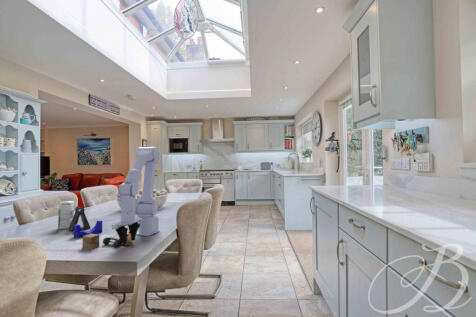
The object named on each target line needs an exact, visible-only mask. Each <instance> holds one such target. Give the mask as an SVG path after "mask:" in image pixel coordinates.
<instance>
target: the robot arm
mask: <svg viewBox="0 0 476 317" xmlns="http://www.w3.org/2000/svg"><path fill="white" fill-rule="evenodd" d="M159 156H160V153H159V149H158V147H156V146H144V147H143V146H138V147H137V148H136V150H135V157H136V159H135V161H134V162H135V163H134V165H133V168H132V169H130V170H129V171H128V173H127V175H126V176H125V179H124V182H122V183H121V184H119V186H118V189H117V194H118V196H119V201H120V220H119V221H117V222H115V223H112V224H111V230H114V231H116V234H118V235H119V238H120V241H121V245H124V244H126V235H127V232H131V241H132V242H134V241H135V240H136V236H144V237H148V236H151V235H153V234H156V233H160V232H161V230H159V226H160V224H159V217H158V215H157V213H158V210H159V206H158V200H157V199H156V198H155V196H153V195H154V194H153V193H154V181H155V172H156V165H157V164H159ZM143 168H144V175H143V182H142V183H143V184H142V194H141V197H139V198H138V199H137V201H136V196H137V194H138V193H139V182H140V180H141V178H142V170H143ZM136 216H137V217H136ZM127 226H128V227H127Z"/></svg>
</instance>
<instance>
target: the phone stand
mask: <svg viewBox="0 0 476 317" xmlns="http://www.w3.org/2000/svg"><path fill="white" fill-rule="evenodd" d="M85 210H86V209H85V207H82V206H76V207H74V216H73V219H72V221H71V224H70V226H69V228H68V230H69V231H70V232H71V233H72V232H73V231H74V225H76V224H78V223H79V220H80V219H81V222H82V226H80V228H81V230H82V231H84V230H91V225H90V223H89V220H88V218H87V216H86V213H85V212H86V211H85ZM73 233H74V232H73Z"/></svg>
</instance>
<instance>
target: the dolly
mask: <svg viewBox="0 0 476 317" xmlns="http://www.w3.org/2000/svg"><path fill="white" fill-rule="evenodd" d="M132 242H133V241H131V243H132ZM110 243H112V244H113V245H114V247H116V248H119V247H121V245H122V244H121V241H120V238H119V235H118V233H116V234H115V235H112V236H109V237H104V238H103V240H102V244H103V245H105V246H107V245H109V244H110Z"/></svg>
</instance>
